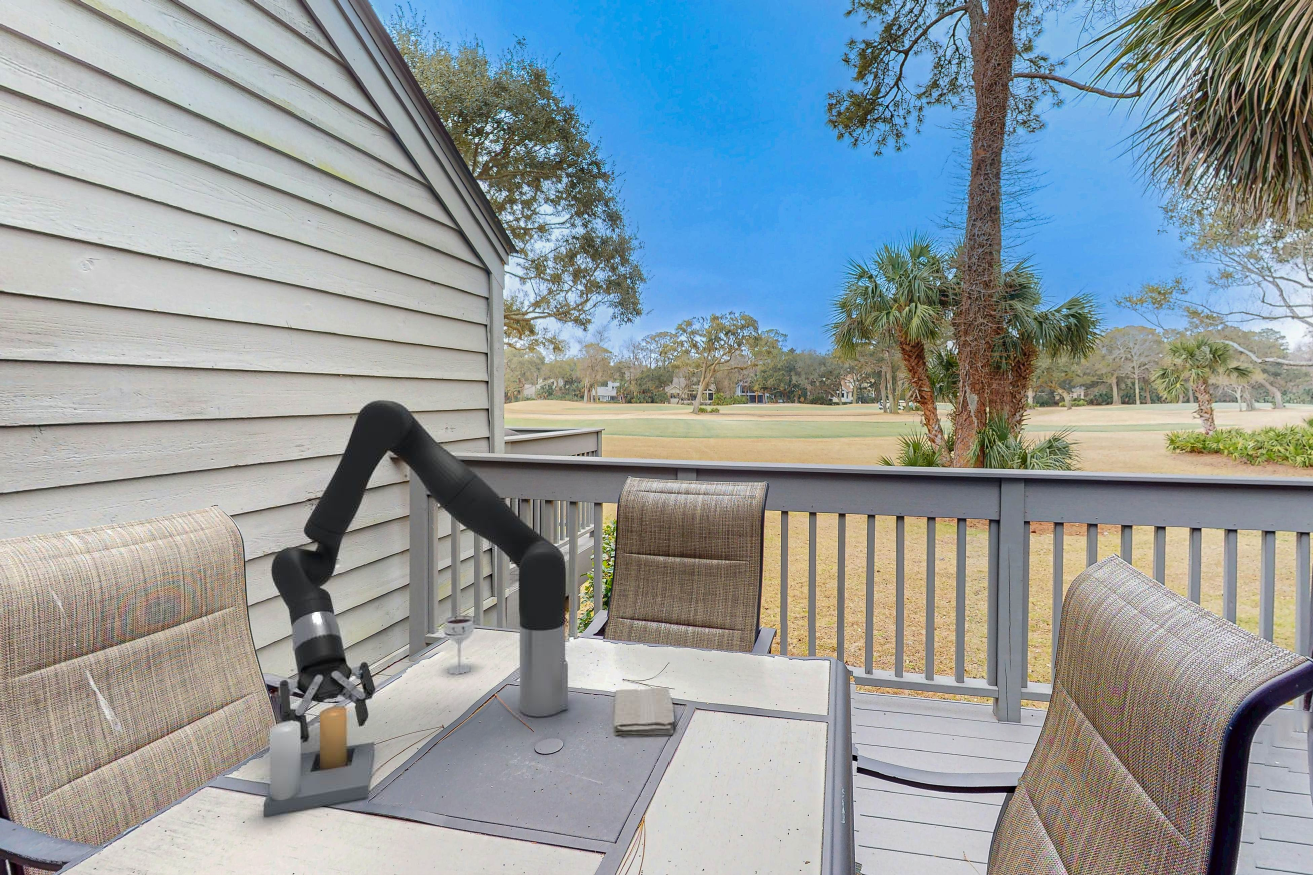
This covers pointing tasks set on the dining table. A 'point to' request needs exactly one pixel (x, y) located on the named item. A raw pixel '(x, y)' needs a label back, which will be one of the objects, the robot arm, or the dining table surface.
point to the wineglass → (459, 635)
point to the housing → (312, 774)
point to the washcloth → (643, 712)
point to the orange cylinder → (333, 738)
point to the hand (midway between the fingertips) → (335, 731)
